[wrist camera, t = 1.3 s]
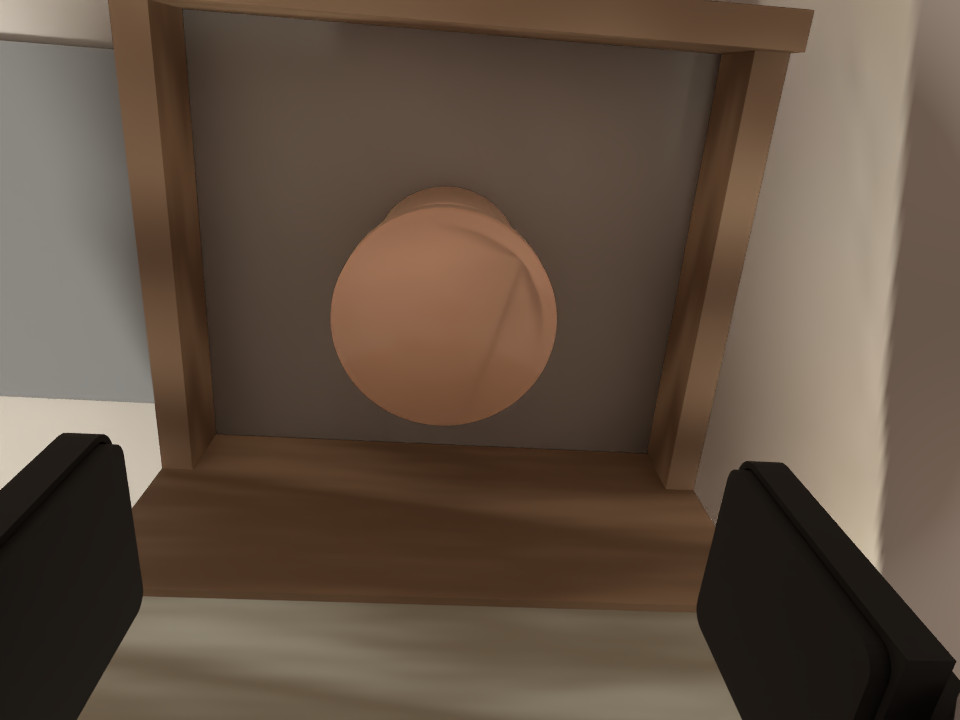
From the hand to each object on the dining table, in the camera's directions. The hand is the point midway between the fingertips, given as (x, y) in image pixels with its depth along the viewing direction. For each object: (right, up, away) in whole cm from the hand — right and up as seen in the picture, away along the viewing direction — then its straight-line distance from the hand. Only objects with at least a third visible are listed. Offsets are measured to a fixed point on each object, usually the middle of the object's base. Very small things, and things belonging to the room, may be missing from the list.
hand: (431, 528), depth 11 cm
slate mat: (-18, +8, +16) cm, 25 cm away
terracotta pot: (-1, +7, +17) cm, 19 cm away
